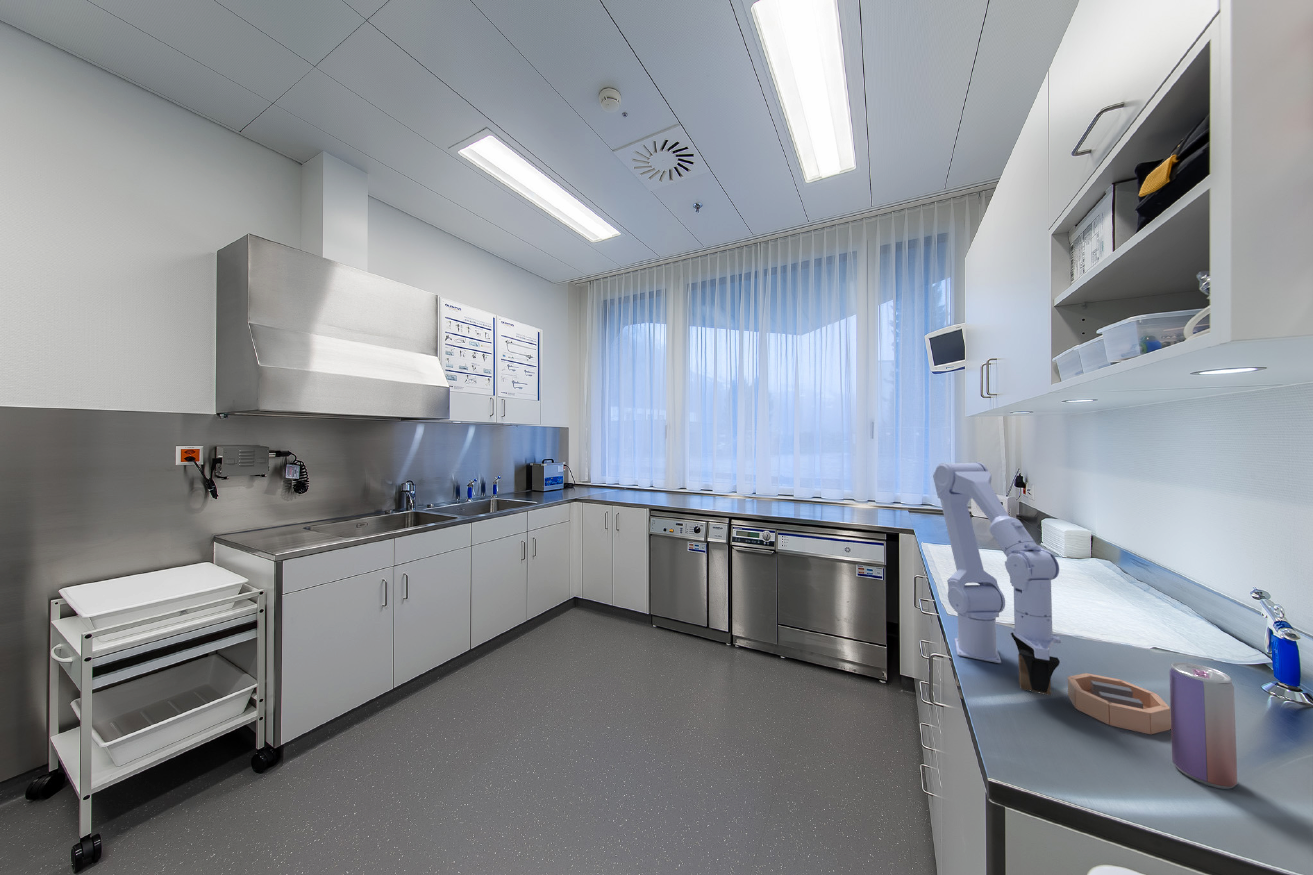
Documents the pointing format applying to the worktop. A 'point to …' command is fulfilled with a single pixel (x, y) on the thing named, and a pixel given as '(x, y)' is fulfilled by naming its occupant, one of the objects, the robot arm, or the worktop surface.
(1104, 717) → the tan octagonal tray
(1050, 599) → the robot arm
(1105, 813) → the worktop surface
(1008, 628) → the worktop surface
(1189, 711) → the beverage can
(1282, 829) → the worktop surface
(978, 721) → the worktop surface
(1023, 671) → the brown rectangular block
